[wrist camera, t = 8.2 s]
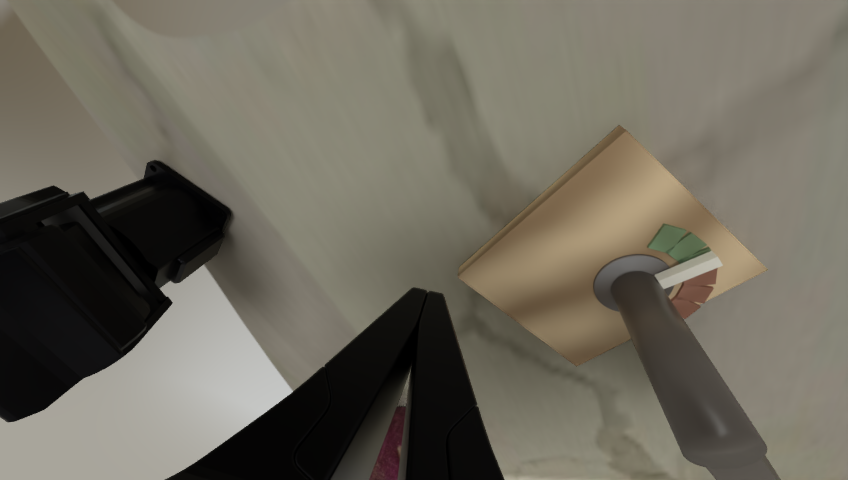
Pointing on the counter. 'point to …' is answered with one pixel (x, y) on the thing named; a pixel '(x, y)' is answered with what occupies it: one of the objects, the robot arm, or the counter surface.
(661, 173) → the wooden board
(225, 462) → the robot arm
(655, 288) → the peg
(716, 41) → the counter surface
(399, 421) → the vegetable
